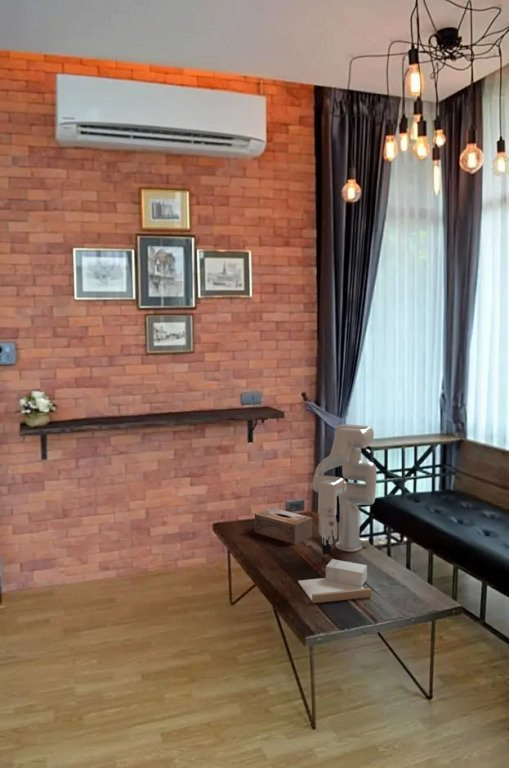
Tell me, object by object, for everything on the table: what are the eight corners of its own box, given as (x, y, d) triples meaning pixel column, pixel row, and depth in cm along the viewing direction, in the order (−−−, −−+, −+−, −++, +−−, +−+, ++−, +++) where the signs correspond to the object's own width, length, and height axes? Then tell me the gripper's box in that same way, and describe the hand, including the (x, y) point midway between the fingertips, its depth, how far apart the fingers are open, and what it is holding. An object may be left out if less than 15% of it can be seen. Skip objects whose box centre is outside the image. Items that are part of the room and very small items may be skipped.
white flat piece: (351, 576, 255) (351, 569, 255) (371, 596, 236) (371, 589, 236) (297, 582, 249) (297, 575, 249) (313, 603, 231) (313, 595, 230)
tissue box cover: (312, 536, 303) (312, 517, 302) (295, 544, 292) (295, 524, 291) (272, 525, 320) (272, 507, 319) (254, 532, 309) (254, 513, 308)
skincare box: (325, 580, 250) (361, 588, 243) (325, 565, 249) (361, 572, 242) (332, 572, 258) (367, 580, 251) (332, 557, 257) (367, 565, 250)
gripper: (342, 515, 242) (341, 559, 244) (329, 504, 256) (328, 546, 258) (325, 516, 240) (324, 561, 242) (312, 505, 255) (312, 547, 257)
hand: (326, 553), depth 250 cm, fingers closed
